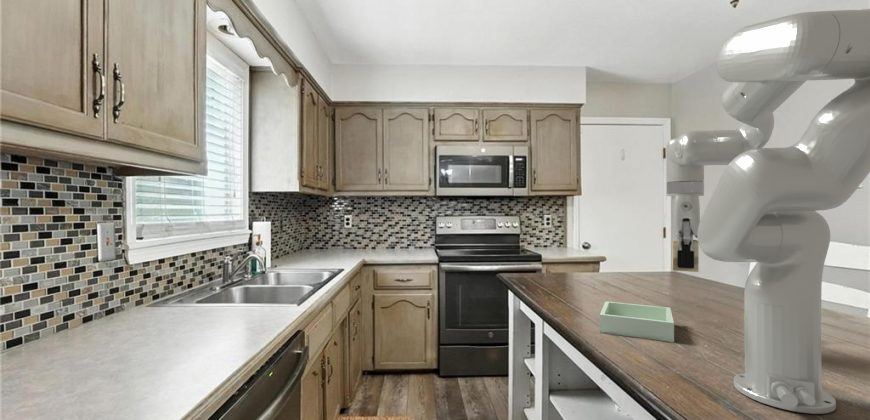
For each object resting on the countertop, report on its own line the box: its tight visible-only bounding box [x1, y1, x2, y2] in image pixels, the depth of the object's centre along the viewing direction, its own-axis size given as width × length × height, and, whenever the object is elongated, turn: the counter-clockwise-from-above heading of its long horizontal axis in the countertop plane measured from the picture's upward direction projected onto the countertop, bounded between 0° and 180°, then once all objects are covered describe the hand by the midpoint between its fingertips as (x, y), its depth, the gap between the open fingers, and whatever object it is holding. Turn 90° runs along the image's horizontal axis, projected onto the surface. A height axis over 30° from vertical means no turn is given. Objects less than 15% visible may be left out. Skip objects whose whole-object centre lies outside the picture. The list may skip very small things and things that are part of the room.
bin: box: [599, 301, 675, 343], centre depth 101 cm, size 16×16×4 cm
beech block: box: [671, 238, 700, 273], centre depth 93 cm, size 5×5×7 cm
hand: (684, 265), depth 93 cm, fingers closed on beech block, 5 cm apart
